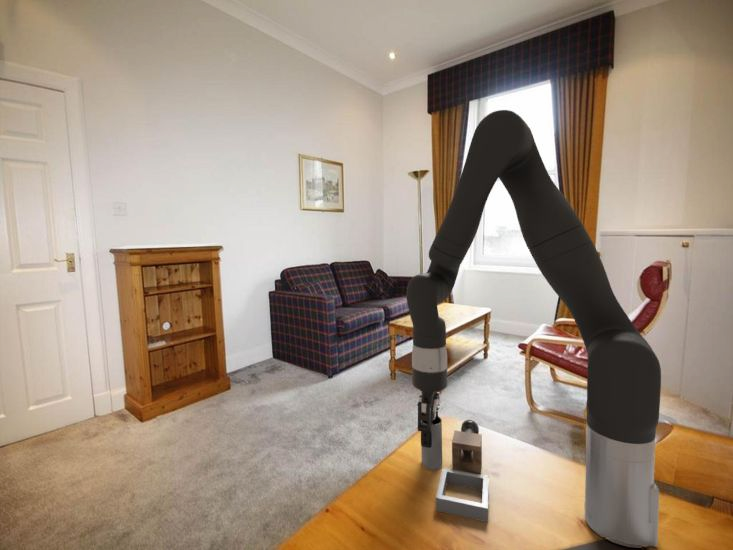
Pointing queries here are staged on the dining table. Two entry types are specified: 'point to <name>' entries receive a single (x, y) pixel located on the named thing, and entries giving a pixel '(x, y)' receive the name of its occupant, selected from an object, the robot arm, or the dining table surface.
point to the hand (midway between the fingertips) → (429, 435)
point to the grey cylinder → (433, 447)
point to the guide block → (467, 461)
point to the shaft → (469, 430)
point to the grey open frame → (460, 505)
